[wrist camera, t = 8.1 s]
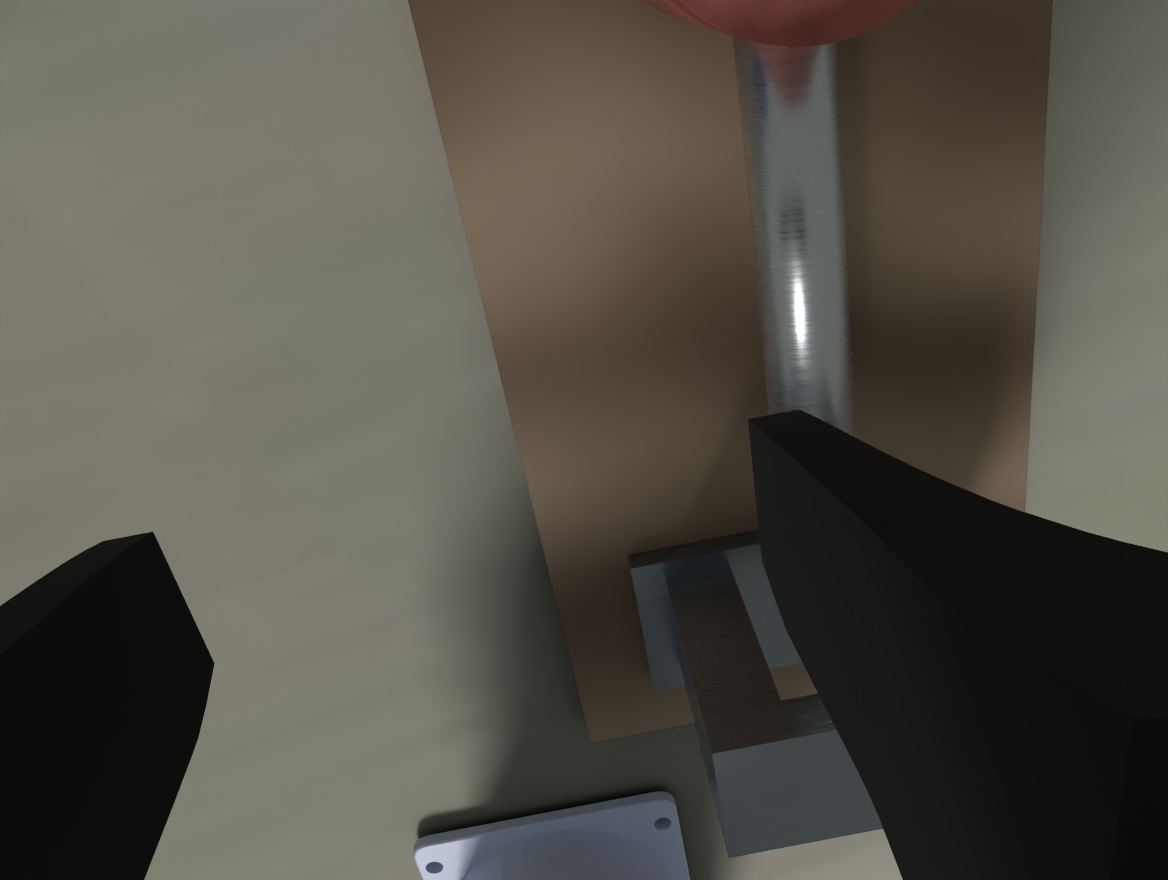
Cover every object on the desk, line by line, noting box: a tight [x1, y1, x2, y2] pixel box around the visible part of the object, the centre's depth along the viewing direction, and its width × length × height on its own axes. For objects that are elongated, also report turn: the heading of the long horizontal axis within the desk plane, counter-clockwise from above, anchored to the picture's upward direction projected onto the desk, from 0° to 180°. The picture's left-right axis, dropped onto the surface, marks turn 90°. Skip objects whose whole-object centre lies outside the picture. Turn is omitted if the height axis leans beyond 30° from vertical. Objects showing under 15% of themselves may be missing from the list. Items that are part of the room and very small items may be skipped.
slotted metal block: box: [628, 529, 883, 858], centre depth 21 cm, size 4×8×6 cm, turn 100°
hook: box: [644, 0, 917, 437], centre depth 15 cm, size 14×5×6 cm, turn 10°
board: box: [408, 0, 1053, 743], centre depth 21 cm, size 21×12×1 cm, turn 10°
